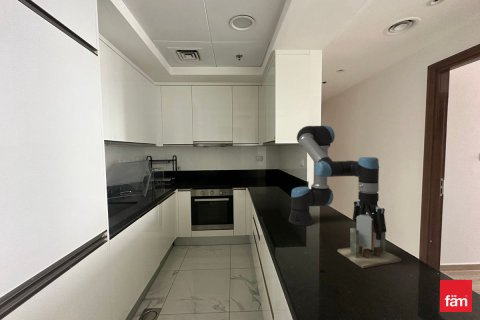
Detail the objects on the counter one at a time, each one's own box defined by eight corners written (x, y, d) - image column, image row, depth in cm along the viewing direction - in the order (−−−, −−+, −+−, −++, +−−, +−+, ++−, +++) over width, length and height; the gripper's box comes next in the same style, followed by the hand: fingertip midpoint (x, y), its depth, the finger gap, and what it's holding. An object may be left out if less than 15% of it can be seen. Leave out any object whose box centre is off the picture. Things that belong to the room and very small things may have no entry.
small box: (371, 250, 82) (371, 219, 82) (355, 244, 87) (356, 216, 87) (380, 245, 87) (380, 216, 86) (364, 239, 92) (364, 212, 91)
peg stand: (337, 251, 92) (337, 224, 91) (372, 246, 96) (372, 220, 96) (362, 268, 78) (362, 236, 78) (401, 261, 83) (401, 231, 82)
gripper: (343, 188, 95) (343, 233, 96) (383, 197, 75) (382, 254, 76) (356, 187, 97) (356, 232, 98) (398, 196, 77) (397, 252, 78)
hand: (367, 242), depth 87 cm, fingers closed on small box, 8 cm apart
